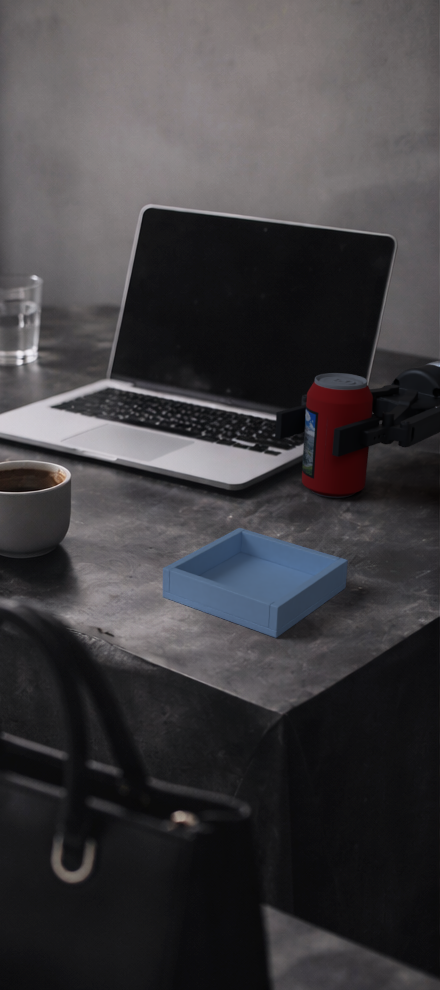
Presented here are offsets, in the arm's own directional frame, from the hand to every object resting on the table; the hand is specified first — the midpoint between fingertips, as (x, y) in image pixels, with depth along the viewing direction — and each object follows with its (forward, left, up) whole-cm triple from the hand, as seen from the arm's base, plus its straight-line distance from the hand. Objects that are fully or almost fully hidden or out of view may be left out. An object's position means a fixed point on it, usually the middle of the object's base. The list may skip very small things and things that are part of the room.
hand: (306, 434), depth 98 cm
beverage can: (-1, -5, -7) cm, 9 cm away
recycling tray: (-8, +21, -7) cm, 23 cm away
